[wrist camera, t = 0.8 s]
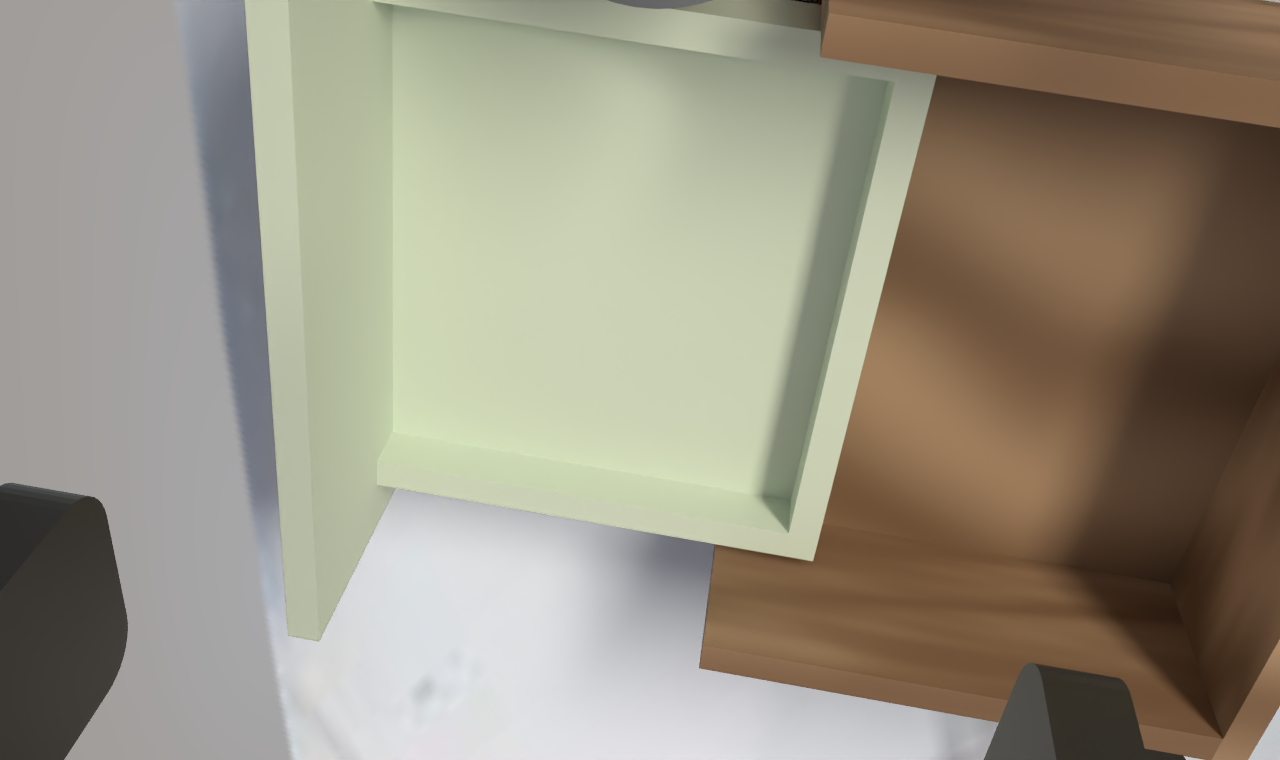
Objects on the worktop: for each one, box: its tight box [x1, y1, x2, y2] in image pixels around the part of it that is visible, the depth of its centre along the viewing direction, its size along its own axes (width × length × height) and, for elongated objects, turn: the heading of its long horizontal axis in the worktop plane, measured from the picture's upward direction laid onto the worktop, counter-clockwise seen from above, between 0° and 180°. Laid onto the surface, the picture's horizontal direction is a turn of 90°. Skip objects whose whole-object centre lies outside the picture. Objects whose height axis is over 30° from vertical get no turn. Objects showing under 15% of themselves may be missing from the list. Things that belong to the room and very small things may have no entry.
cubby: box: [699, 0, 1280, 760], centre depth 28 cm, size 17×14×6 cm
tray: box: [245, 0, 937, 641], centre depth 28 cm, size 17×13×7 cm
